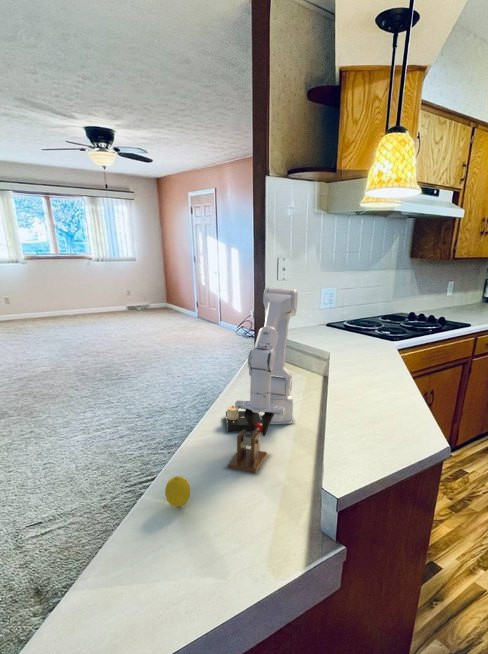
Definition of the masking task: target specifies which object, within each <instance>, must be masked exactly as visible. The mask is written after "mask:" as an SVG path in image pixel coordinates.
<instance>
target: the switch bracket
mask: <svg viewBox="0 0 488 654" xmlns="http://www.w3.org/2000/svg"><path fill="white" fill-rule="evenodd" d="M246 434H247V431H246V429H243V430H242V431H241V432H238V434H237V436H236V453H235V455H234V456H233V457H232V459H231V460H230V461H229V462H228V464H227V468H228V469H233V470H237V471H243V472H247V473H253V474H257V472H258V470H259V469H260V467H261V466H262V465H263V463H264V461H265V460H266V458H268V452H267V451H261V450H260V445H261V433H260V432H256V433H255V434H254V436H253V437H252V438H251V446H250V448H247V446H246V445H243V437H244V436H245V435H246Z"/></svg>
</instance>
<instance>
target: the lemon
mask: <svg viewBox="0 0 488 654" xmlns="http://www.w3.org/2000/svg"><path fill="white" fill-rule="evenodd" d="M164 495H165V500H166V502H167V503H168V504H169V505H170V506H172V507H176V508H180V507H182V506H184V505H186V504H187V503H188V501H189V499H190V497H191V487H190V484H189V481H188V480H187V479H186V478H184V477H183V476H178V475H176V476H174V477H172V478H170V479H169V480H168V481H167V482H166V484H165V488H164Z"/></svg>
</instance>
